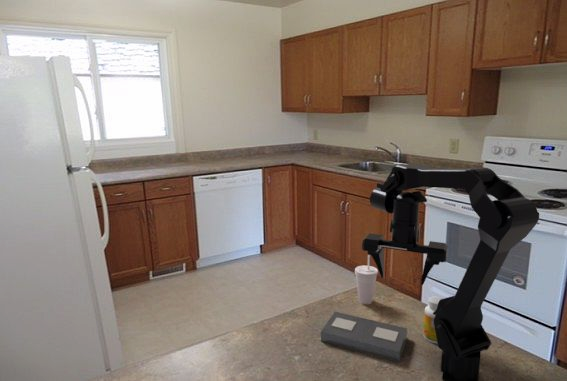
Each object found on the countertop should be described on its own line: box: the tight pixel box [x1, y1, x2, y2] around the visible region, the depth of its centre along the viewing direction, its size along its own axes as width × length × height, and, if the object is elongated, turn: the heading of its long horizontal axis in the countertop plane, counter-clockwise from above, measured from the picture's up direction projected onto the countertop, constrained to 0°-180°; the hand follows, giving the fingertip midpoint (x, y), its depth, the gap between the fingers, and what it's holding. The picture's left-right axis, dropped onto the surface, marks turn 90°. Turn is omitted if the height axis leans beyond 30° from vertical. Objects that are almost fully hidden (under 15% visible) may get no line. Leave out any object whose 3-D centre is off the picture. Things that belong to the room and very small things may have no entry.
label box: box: [320, 311, 408, 363], centre depth 89 cm, size 18×10×3 cm, turn 63°
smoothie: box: [354, 254, 379, 305], centre depth 106 cm, size 6×6×14 cm
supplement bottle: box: [422, 295, 444, 345], centre depth 89 cm, size 5×5×10 cm
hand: (402, 280), depth 90 cm, fingers open, 9 cm apart
